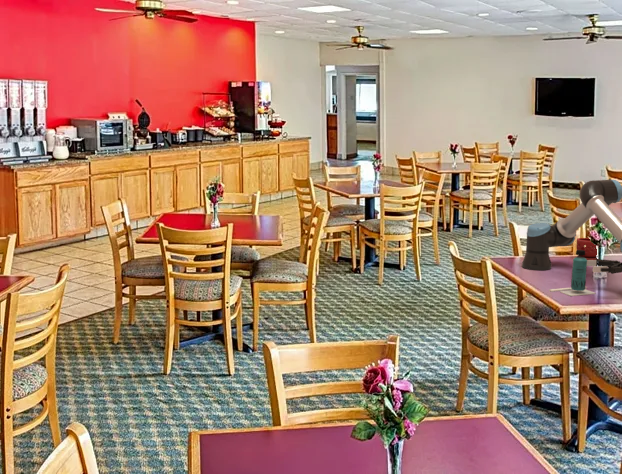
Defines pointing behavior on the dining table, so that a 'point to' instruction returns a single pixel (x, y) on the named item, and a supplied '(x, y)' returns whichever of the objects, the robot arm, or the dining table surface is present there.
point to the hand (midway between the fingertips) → (587, 266)
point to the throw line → (561, 289)
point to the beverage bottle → (579, 272)
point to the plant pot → (587, 248)
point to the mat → (577, 292)
